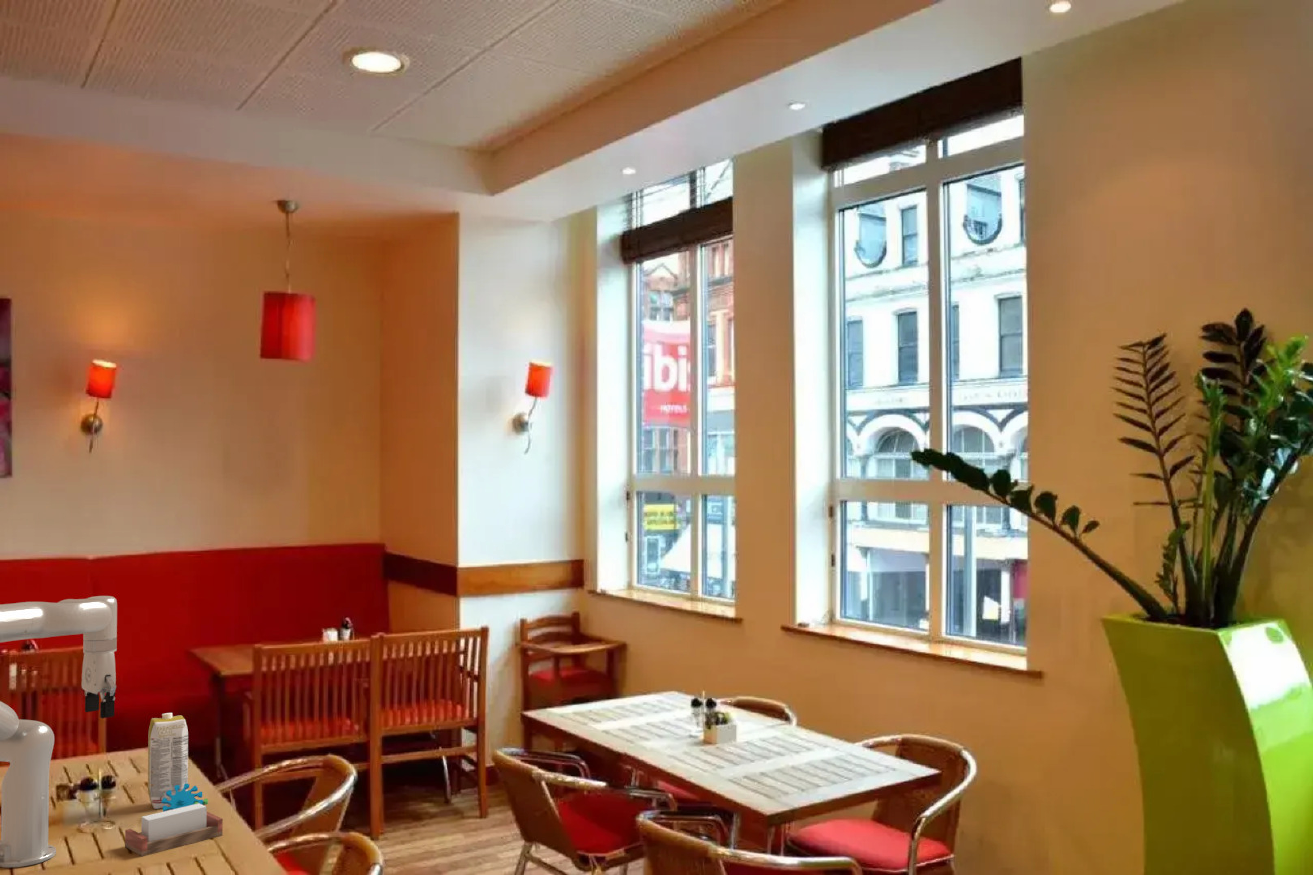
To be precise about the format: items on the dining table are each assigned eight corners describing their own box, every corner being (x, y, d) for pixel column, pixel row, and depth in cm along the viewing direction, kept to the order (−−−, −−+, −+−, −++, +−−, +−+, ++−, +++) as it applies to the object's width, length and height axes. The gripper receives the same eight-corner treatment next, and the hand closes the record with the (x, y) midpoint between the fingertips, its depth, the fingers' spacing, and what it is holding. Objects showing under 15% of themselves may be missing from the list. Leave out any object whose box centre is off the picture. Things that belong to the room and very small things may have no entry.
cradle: (141, 856, 256) (142, 838, 256) (125, 846, 262) (125, 829, 263) (222, 835, 270) (222, 818, 271) (204, 826, 277) (204, 810, 277)
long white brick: (148, 846, 260) (148, 820, 260) (141, 842, 263) (141, 816, 263) (206, 831, 270) (206, 806, 270) (198, 827, 273) (199, 803, 273)
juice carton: (183, 797, 301) (184, 709, 302) (188, 805, 294) (189, 714, 295) (146, 803, 296) (147, 713, 297) (150, 811, 289) (151, 719, 290)
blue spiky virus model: (157, 816, 280) (166, 780, 287) (157, 827, 284) (167, 792, 291) (203, 819, 282) (211, 783, 290) (203, 830, 286) (211, 795, 294)
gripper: (71, 643, 280) (70, 711, 280) (97, 651, 269) (97, 722, 268) (102, 640, 286) (101, 706, 286) (129, 647, 274) (129, 717, 274)
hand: (99, 714), depth 277 cm, fingers open, 9 cm apart
